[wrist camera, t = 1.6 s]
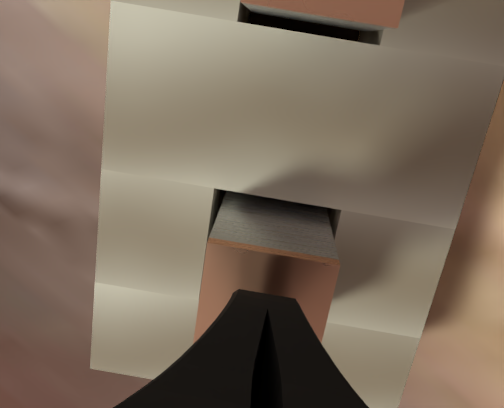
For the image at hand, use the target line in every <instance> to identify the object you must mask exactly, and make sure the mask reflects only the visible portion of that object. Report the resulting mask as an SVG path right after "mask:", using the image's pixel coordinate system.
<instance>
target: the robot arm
mask: <svg viewBox="0 0 504 408" xmlns="http://www.w3.org/2000/svg"><path fill="white" fill-rule="evenodd" d="M113 408H369V407H368V406H367V405H366V404H365V403H364V401H363V400H362V399H361V398H360V397H359V395H358V394H357V393H356V392H355V391H354V389H353V388H352V387H351V385H350V384H349V383H348V381H347V380H346V379H345V378H344V376H343V375H342V374H341V372H340V371H339V369H338V368H337V366H336V365H335V364H334V362H333V361H332V359H331V357H330V356H329V354H328V353H327V351H326V350H325V348H324V347H323V345H322V344H321V342H320V340H319V339H318V337H317V335H316V334H315V332H314V330H313V329H312V327H311V325H310V323H309V322H308V320H307V318H306V316H305V314H304V313H303V311H302V309H301V307H300V305H299V303H298V302H297V300H296V299H295V298H289V297H283V296H278V295H272V294H266V293H260V292H254V291H248V290H243V289H238V290H236V291H235V292H233V294H232V296H231V298H230V300H229V301H228V303H227V305H226V306H225V308H224V309H223V310H222V312H221V313H220V314H219V316H218V317H217V318H216V319H215V321H214V322H213V323H212V324H211V325H210V326H209V328H208V329H207V330H206V331H205V332H204V333H203V335H202V336H201V337H200V338H199V339H198V340H197V341H196V342H195V343H194V344H193V345H192V346H191V347H190V348H189V349H188V350H187V351H186V352H185V353H184V354H183V355H182V356H181V357H180V358H178V359H177V360H176V361H175V362H174V363H173V364H172V365H171V366H169V367H168V368H167V369H166V370H165V371H163V372H162V373H161V374H160V375H158V376H157V377H156V378H155V379H153V380H152V381H151V382H150V383H148V384H147V385H146V386H144V387H143V388H141V389H140V390H138V391H137V392H136V393H134V394H133V395H131V396H130V397H128V398H127V399H125V400H124V401H123V402H121V403H120V404H118V405H116V406H115V407H113Z"/></svg>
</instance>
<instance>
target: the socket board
mask: <svg viewBox="0 0 504 408" xmlns="http://www.w3.org/2000/svg"><path fill="white" fill-rule="evenodd" d="M240 1H241V0H111V6H110V24H109V41H108V59H107V77H106V95H105V112H104V130H103V148H102V166H101V183H100V201H99V219H98V237H97V254H96V272H95V290H94V308H93V326H92V343H91V361H90V369H96V370H102V371H107V372H113V373H119V374H125V375H130V376H136V377H142V378H148V379H155V378H156V377H157V376H158V375H160V374H161V373H162V372H163V371H165V370H166V369H167V368H168V367H169V366H171V365H172V364H173V363H174V362H175V361H176V360H177V359H178V358H180V357H181V356H182V355H183V354H184V353H185V352H186V351H187V350H188V349H189V348H190V347H191V346H192V345H193V340H194V333H195V326H196V318H197V311H198V304H199V297H200V290H201V282H202V275H203V268H204V261H205V254H206V246H207V241H208V239H209V236H210V233H211V231H212V228H213V226H214V223H215V220H216V218H217V215H218V213H219V210H220V207H221V205H222V202H223V197H224V190H227V191H233V192H239V193H245V194H251V195H257V196H262V197H268V198H274V199H280V200H286V201H292V202H298V203H303V204H309V205H315V206H321V207H326V209H327V213H328V217H329V221H330V225H331V230H332V234H333V238H334V242H335V246H336V250H337V254H338V258H339V262H340V269H339V273H338V277H337V281H336V286H335V290H334V294H333V298H332V302H331V306H330V310H329V314H328V318H327V323H326V327H325V331H324V335H323V339H322V343H321V344H322V345H323V347H324V348H325V350H326V351H327V353H328V354H329V356H330V357H331V359H332V361H333V362H334V364H335V365H336V366H337V368H338V369H339V371H340V372H341V374H342V375H343V376H344V378H345V379H346V380H347V381H348V383H349V384H350V385H351V387H352V388H353V389H354V391H355V392H356V393H357V394H358V395H359V397H360V398H361V399H362V400H363V401H364V403H365V404H366V405H367V406H368V407H369V408H398V406H399V403H400V400H401V397H402V394H403V391H404V387H405V384H406V381H407V378H408V375H409V372H410V369H411V366H412V363H413V360H414V356H415V353H416V350H417V347H418V344H419V341H420V338H421V335H422V332H423V328H424V325H425V322H426V319H427V316H428V313H429V310H430V307H431V304H432V301H433V297H434V294H435V291H436V288H437V285H438V282H439V279H440V276H441V273H442V270H443V266H444V263H445V260H446V257H447V254H448V251H449V248H450V245H451V242H452V238H453V235H454V232H455V229H456V226H457V223H458V220H459V217H460V214H461V211H462V207H463V204H464V201H465V198H466V195H467V192H468V189H469V186H470V183H471V179H472V176H473V173H474V170H475V167H476V164H477V161H478V158H479V155H480V152H481V148H482V145H483V142H484V139H485V136H486V133H487V130H488V127H489V124H490V121H491V117H492V114H493V111H494V108H495V105H496V102H497V99H498V96H499V93H500V89H501V86H502V83H503V80H504V0H405V2H404V6H403V10H402V14H401V18H400V22H399V26H398V28H396V29H386V30H376V31H365V32H364V31H360V33H359V38H358V42H355V41H349V40H344V39H338V38H332V37H326V36H320V35H314V34H308V33H302V32H296V31H290V30H284V29H278V28H272V27H266V26H260V25H254V24H249V19H250V12H251V11H250V10H249V9H248V8H247V7H246V6H245V5H243V4H242V3H241V2H240Z"/></svg>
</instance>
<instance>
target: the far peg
mask: <svg viewBox="0 0 504 408" xmlns="http://www.w3.org/2000/svg"><path fill="white" fill-rule="evenodd" d="M339 269H340V262H339V258H338V254H337V250H336V246H335V242H334V238H333V234H332V230H331V225H330V221H329V217H328V213H327V209H326V207H321V206H315V205H309V204H303V203H298V202H292V201H286V200H280V199H274V198H268V197H262V196H257V195H251V194H245V193H239V192H233V191H227V192H226V194H225V197H224V199H223V202H222V205H221V207H220V210H219V213H218V215H217V218H216V220H215V223H214V226H213V228H212V231H211V233H210V236H209V239H208V241H207V246H206V254H205V261H204V268H203V275H202V282H201V290H200V297H199V304H198V311H197V318H196V326H195V333H194V340H193V344H194V343H195V342H196V341H197V340H198V339H199V338H200V337H201V336H202V335H203V333H204V332H205V331H206V330H207V329H208V328H209V326H210V325H211V324H212V323H213V322H214V321H215V319H216V318H217V317H218V316H219V314H220V313H221V312H222V310H223V309H224V308H225V306H226V305H227V303H228V301H229V300H230V298H231V296H232V294H233V292H235V291H236V290H238V289H243V290H248V291H254V292H260V293H266V294H272V295H278V296H283V297H289V298H295V299H296V300H297V302H298V303H299V305H300V307H301V309H302V311H303V313H304V314H305V316H306V318H307V320H308V322H309V323H310V325H311V327H312V329H313V330H314V332H315V334H316V335H317V337H318V339H319V340H320V342H321V343H322V339H323V335H324V331H325V327H326V323H327V318H328V314H329V310H330V306H331V302H332V298H333V294H334V290H335V286H336V281H337V277H338V273H339Z"/></svg>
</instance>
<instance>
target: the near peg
mask: <svg viewBox="0 0 504 408" xmlns="http://www.w3.org/2000/svg"><path fill="white" fill-rule="evenodd" d="M240 2H241V3H242V4H243V5H245V6H246V7H247V8H248V9H249V10H250V11H252V12H253V13H257V14H263V15H269V16H275V17H281V18H287V19H293V20H298V21H304V22H310V23H316V24H322V25H328V26H334V27H340V28H346V29H352V30H358V31H364V32H365V31H376V30H386V29H396V28H398V26H399V22H400V18H401V14H402V10H403V6H404V2H405V0H241V1H240Z"/></svg>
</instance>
